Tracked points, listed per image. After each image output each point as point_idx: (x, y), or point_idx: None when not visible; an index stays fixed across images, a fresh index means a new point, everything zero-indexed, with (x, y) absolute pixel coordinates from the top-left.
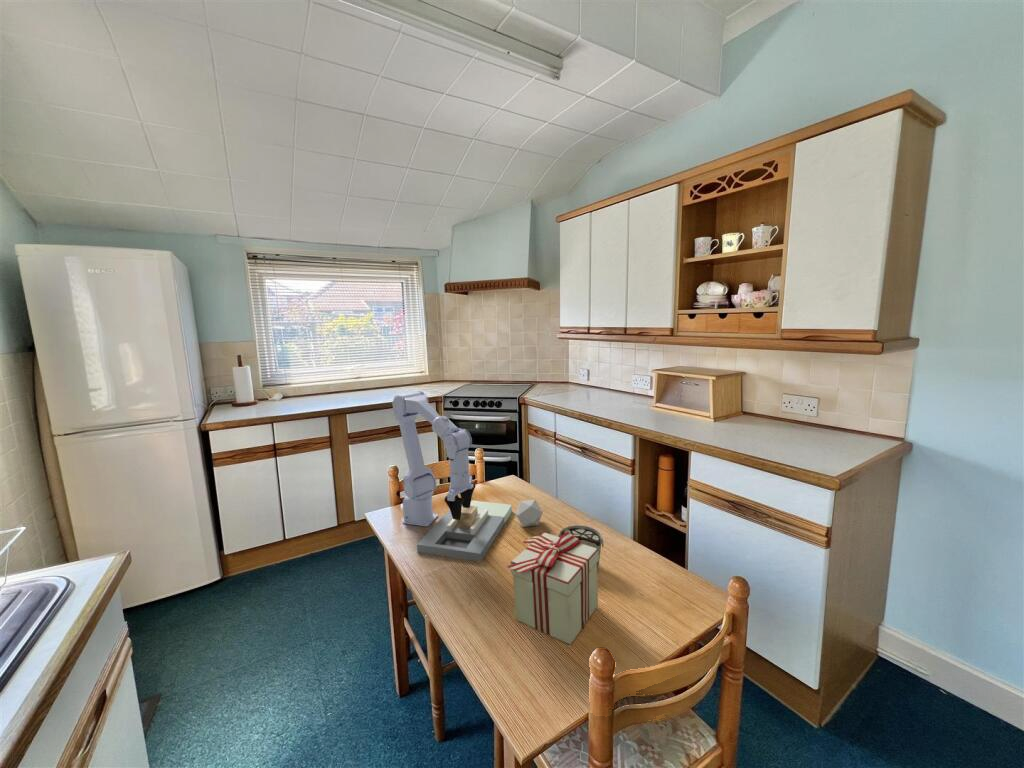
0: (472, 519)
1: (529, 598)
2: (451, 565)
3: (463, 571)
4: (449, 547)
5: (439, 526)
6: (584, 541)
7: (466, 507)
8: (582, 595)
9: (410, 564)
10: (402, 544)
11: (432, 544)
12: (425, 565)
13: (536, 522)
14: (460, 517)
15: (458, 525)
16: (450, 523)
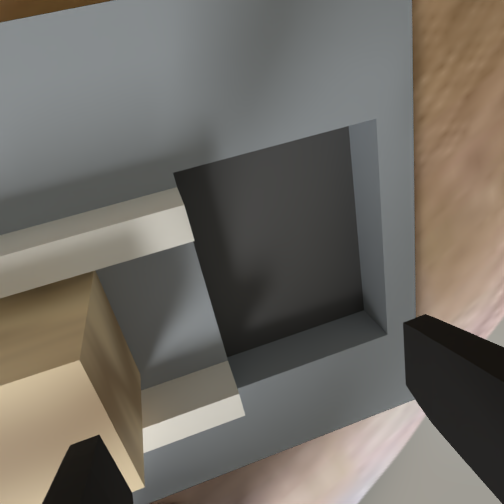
0: (67, 316)
1: None
2: (448, 138)
3: (487, 23)
4: (397, 233)
5: (207, 453)
6: None
7: (112, 466)
8: None
9: (478, 320)
10: (356, 457)
11: (396, 338)
12: (473, 260)
13: None
14: (421, 328)
15: (137, 374)
16: (208, 416)
